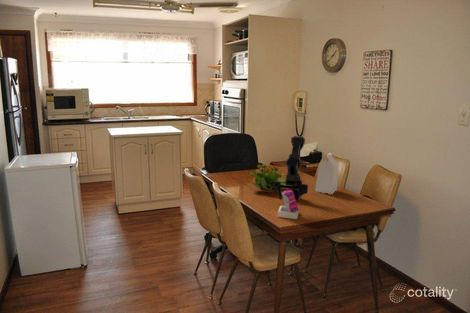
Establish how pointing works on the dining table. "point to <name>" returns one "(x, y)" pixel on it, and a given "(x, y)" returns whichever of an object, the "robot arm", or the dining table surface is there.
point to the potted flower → (267, 178)
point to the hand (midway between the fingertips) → (288, 200)
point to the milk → (327, 176)
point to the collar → (287, 213)
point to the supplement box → (289, 200)
